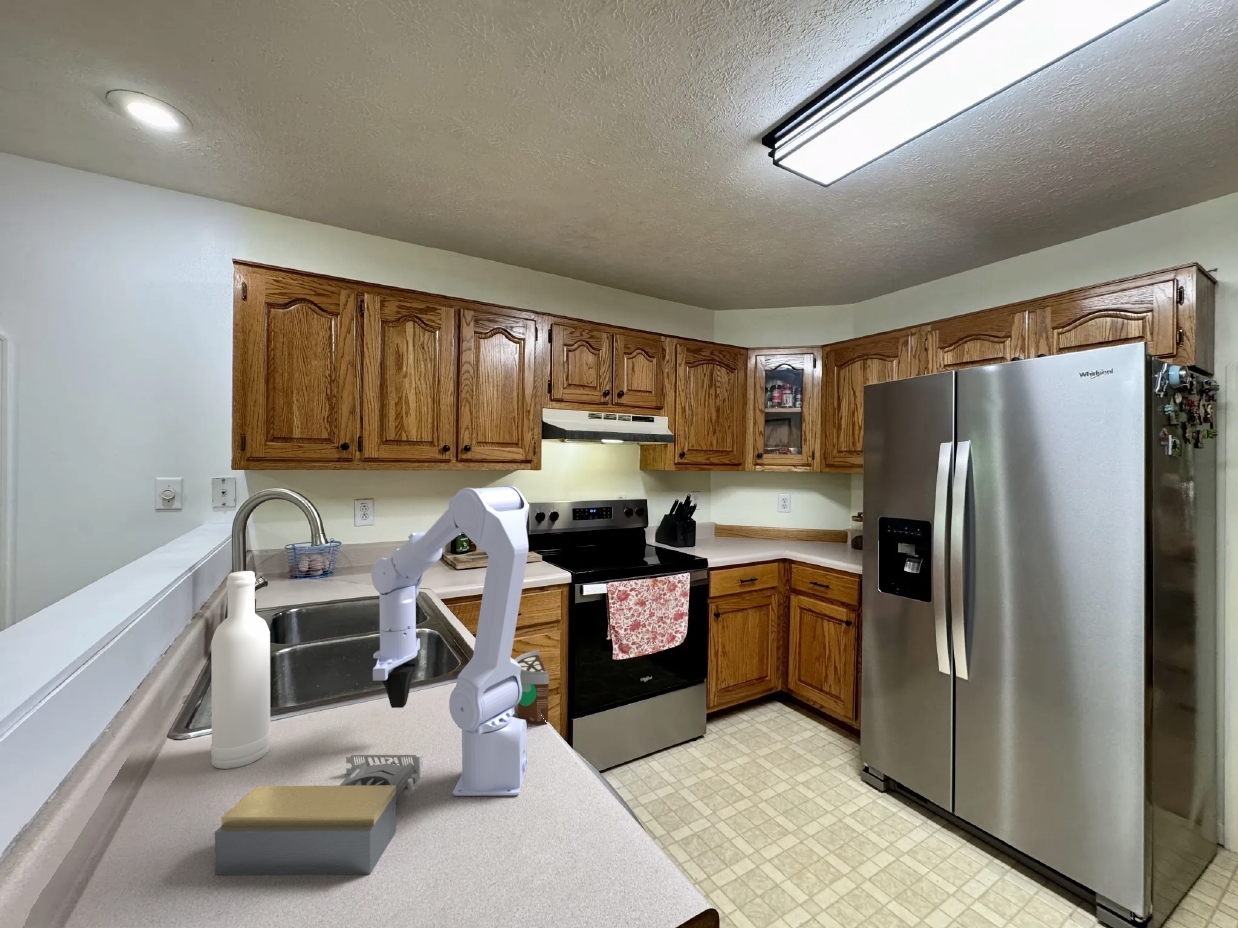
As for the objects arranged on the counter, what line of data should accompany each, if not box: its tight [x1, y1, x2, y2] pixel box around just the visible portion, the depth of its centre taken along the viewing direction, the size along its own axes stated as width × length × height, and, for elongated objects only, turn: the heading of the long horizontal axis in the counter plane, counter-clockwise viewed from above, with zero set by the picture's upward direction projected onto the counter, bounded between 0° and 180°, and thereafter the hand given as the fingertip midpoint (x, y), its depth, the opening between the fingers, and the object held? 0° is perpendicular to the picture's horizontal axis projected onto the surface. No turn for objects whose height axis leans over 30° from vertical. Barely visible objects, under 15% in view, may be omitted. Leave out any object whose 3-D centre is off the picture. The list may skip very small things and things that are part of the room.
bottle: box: [210, 570, 272, 770], centre depth 86 cm, size 8×8×30 cm
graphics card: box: [338, 752, 424, 800], centre depth 73 cm, size 17×4×12 cm
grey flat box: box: [214, 785, 397, 876], centre depth 64 cm, size 18×7×6 cm, turn 90°
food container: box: [514, 650, 550, 726], centre depth 99 cm, size 12×6×10 cm, turn 17°
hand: (398, 705), depth 90 cm, fingers closed
